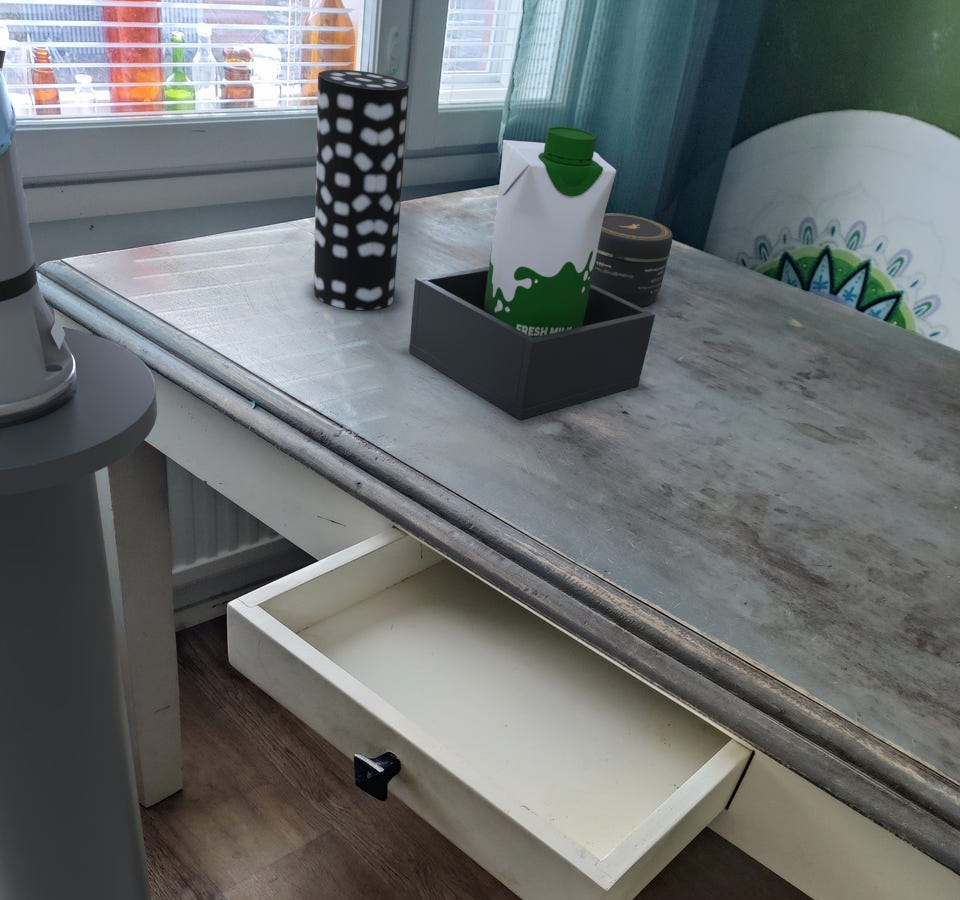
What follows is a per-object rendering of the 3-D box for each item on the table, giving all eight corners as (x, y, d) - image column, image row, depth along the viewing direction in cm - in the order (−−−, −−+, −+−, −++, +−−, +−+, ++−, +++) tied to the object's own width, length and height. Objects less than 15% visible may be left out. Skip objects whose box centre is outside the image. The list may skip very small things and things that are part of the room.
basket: (408, 352, 93) (414, 278, 89) (527, 327, 102) (538, 258, 98) (519, 420, 85) (532, 342, 80) (638, 386, 94) (655, 314, 89)
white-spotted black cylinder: (405, 292, 106) (421, 82, 93) (375, 316, 99) (388, 94, 87) (334, 275, 107) (340, 66, 95) (300, 298, 101) (302, 76, 88)
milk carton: (493, 379, 88) (528, 136, 76) (469, 339, 95) (497, 109, 83) (584, 380, 91) (632, 144, 78) (554, 340, 97) (593, 117, 85)
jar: (670, 295, 116) (686, 227, 111) (641, 317, 109) (657, 246, 104) (592, 272, 119) (605, 206, 114) (559, 293, 112) (571, 223, 107)
